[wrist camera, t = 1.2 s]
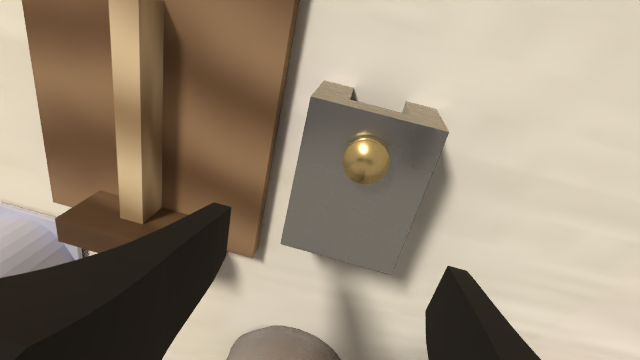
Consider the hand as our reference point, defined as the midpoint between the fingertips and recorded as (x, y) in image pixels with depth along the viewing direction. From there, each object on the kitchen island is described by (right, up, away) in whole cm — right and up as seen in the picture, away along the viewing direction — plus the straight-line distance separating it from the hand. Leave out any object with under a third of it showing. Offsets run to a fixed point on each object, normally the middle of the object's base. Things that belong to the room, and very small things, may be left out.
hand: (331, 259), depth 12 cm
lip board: (-9, +9, +8) cm, 15 cm away
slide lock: (+2, +4, +9) cm, 10 cm away
